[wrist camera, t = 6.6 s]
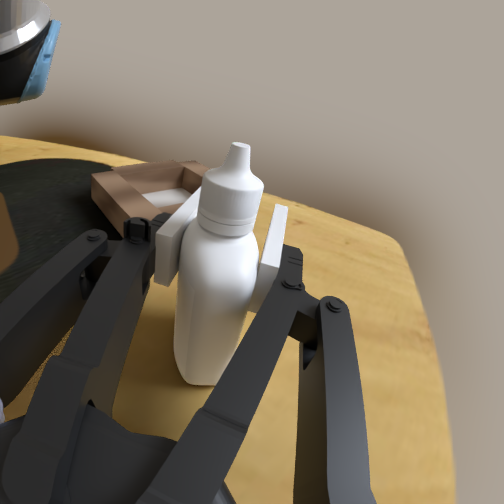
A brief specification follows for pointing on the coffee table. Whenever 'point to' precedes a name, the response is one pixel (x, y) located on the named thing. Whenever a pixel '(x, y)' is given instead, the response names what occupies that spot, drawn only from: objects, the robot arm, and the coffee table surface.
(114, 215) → the socket block
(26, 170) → the coffee table surface
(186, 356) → the eye dropper bottle
